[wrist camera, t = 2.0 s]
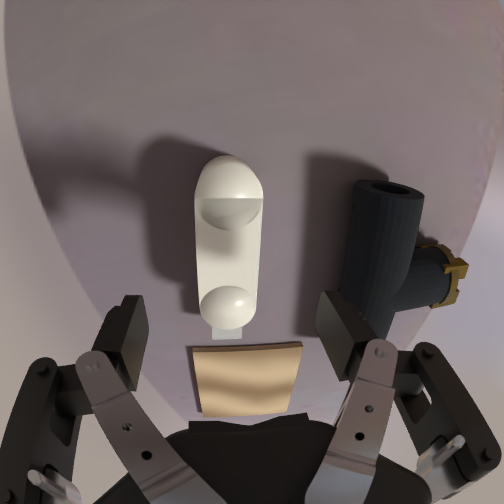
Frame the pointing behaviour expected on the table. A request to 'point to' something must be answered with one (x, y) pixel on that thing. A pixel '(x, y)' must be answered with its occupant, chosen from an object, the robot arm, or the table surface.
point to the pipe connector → (394, 257)
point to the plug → (228, 244)
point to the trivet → (246, 378)
